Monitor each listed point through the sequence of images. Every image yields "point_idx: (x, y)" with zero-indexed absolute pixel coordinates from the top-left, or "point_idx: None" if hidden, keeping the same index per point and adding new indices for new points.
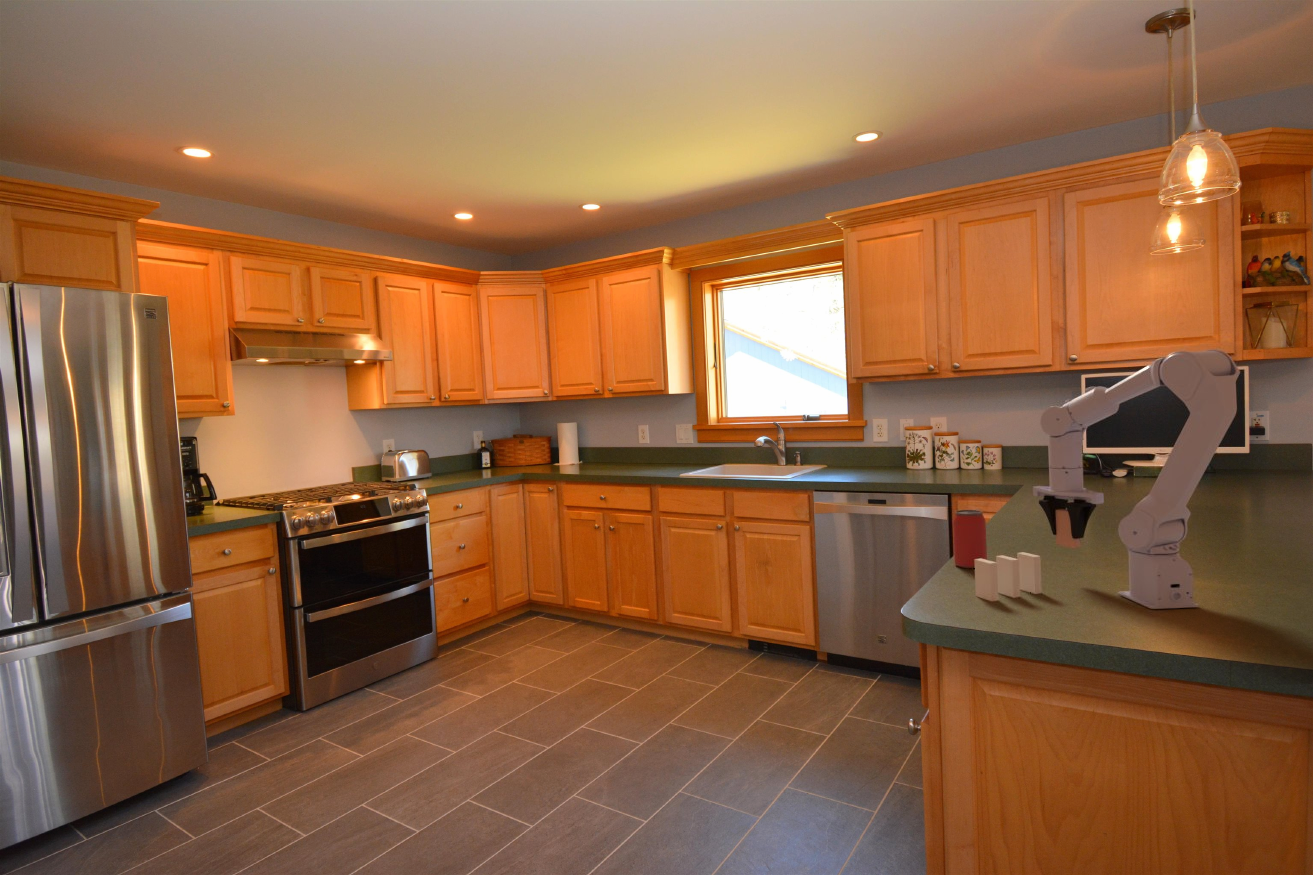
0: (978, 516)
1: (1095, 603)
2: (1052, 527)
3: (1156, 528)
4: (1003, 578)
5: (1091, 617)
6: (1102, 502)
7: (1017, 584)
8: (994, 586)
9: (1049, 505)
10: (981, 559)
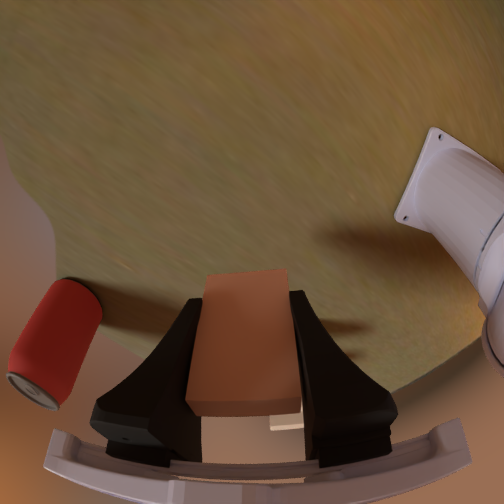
0: (53, 393)
1: (396, 286)
2: None
3: None
4: None
5: (422, 325)
6: (456, 424)
7: None
8: None
9: (200, 447)
10: (276, 427)
